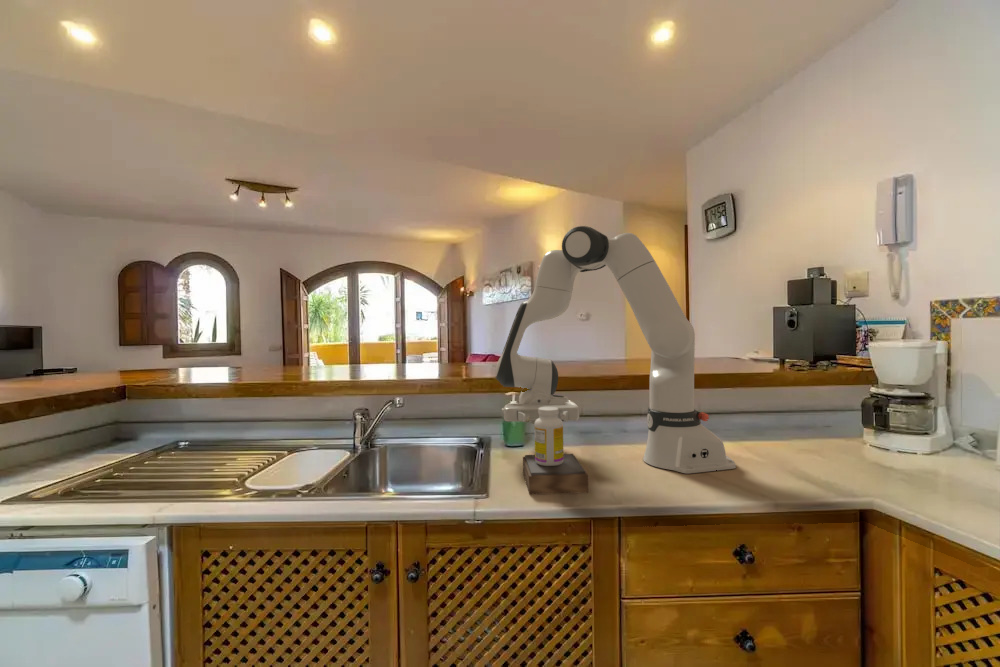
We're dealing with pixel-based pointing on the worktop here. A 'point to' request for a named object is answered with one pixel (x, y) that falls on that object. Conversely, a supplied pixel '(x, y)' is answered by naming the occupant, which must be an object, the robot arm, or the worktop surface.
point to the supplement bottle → (548, 437)
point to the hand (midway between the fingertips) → (545, 418)
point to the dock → (555, 476)
